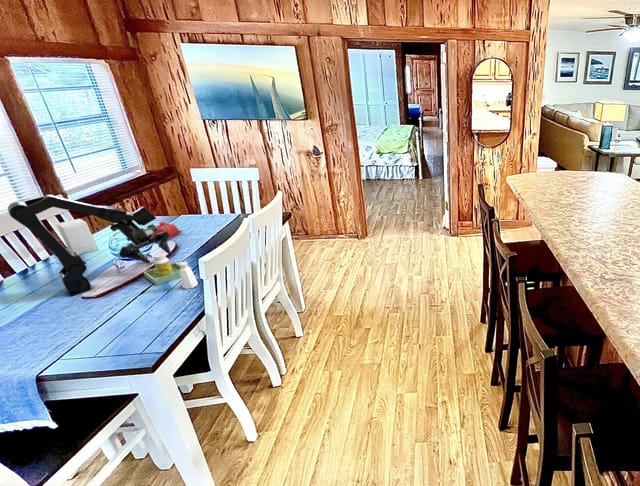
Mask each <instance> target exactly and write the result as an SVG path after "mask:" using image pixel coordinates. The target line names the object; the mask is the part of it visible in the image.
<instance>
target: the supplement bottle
mask: <svg viewBox="0 0 640 486" xmlns="http://www.w3.org/2000/svg"><path fill="white" fill-rule="evenodd" d="M153 259H154V260H153V265H154V268H156V270H157V273H158V275H159V276H160V277H163V276H166V275H169V274H172V273H173V269H172V267H171V264H170V263H171V261H170V259H169V258H168V257H166V254H165V252H164V253H163V252H162V253H157V254H154V255H153Z"/></svg>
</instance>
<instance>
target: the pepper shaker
mask: <svg viewBox="0 0 640 486" xmlns="http://www.w3.org/2000/svg"><path fill="white" fill-rule="evenodd" d="M178 264H179V266H180V270H179V272H180V277H179V278H180V282H181V286H182V288H183V289H185V290H188V289H194V288H196V287H198V284H199V282H198V281H197V279H196V276H195V274H194V273H193V270H192V267H190V266H189V265H188V262H187V261H181V262H179V263H178Z"/></svg>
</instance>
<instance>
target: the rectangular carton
mask: <svg viewBox="0 0 640 486" xmlns="http://www.w3.org/2000/svg"><path fill="white" fill-rule="evenodd" d="M56 226H57V229H58V231H59V233H60V235H61V237H62V240H63V241H64V243H65V245H66V247H67V250H68V251H69V252H71V253H72V254H73V253H74V252H77V253H78V255H79V256H80V255H83V254H86V253H89V252H93V251H97V250H99V247H98V245H97V243H96V241H95V239H94V237H93V234H92V232H91V230H90V228H89V225H88V223H87V222H86V221H85V220H83V219H82V218H76V219H72V220H67V221H62V222H57V223H56Z"/></svg>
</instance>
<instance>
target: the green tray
mask: <svg viewBox="0 0 640 486" xmlns="http://www.w3.org/2000/svg"><path fill="white" fill-rule="evenodd" d="M170 264H171V267H172V269H173V273H172V274H169V275H166V276H163V277H160V276H159V275H158V273H157V270H156V268H155V267H154V268H151V269H149V270H145V271H143V273H142V274H143V275H144V278H146V279H147V280H148V281H150V282H151V283H153V284H154V285H156V286H158V285H162V284H164V283H168V282H170V281H173V280H177V279H179V278H181V277H180V272H179V270H180V266H179V263H178V262H176V261H174V262H173V261H172V262H170Z"/></svg>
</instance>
